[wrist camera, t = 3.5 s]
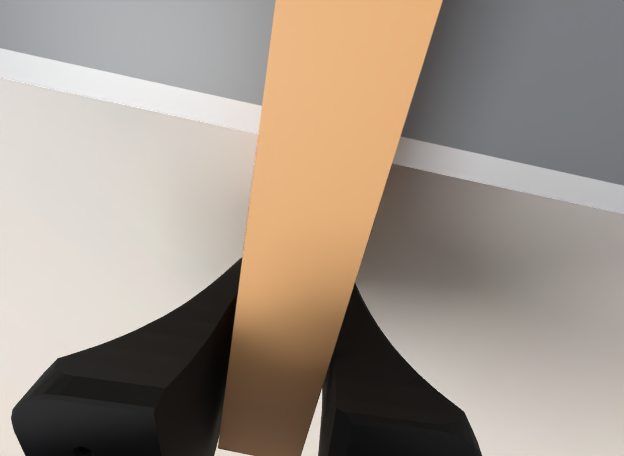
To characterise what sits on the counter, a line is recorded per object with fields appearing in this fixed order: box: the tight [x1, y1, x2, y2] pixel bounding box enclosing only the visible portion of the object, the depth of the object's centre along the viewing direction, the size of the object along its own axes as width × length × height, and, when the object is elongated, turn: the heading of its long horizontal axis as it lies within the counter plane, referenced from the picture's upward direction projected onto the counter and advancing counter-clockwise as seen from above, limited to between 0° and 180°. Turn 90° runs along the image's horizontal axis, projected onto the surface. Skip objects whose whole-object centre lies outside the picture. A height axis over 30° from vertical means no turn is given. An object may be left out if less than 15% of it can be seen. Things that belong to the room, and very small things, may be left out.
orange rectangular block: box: [218, 0, 443, 456], centre depth 10 cm, size 11×2×7 cm, turn 169°
